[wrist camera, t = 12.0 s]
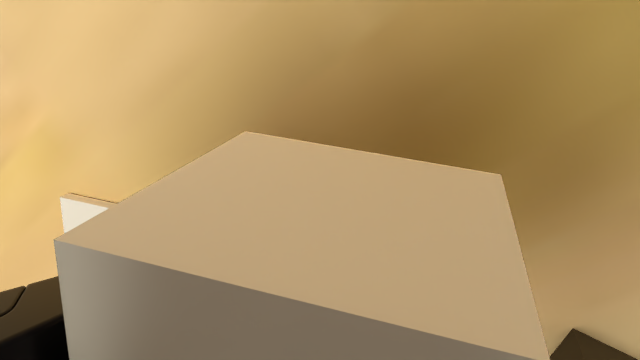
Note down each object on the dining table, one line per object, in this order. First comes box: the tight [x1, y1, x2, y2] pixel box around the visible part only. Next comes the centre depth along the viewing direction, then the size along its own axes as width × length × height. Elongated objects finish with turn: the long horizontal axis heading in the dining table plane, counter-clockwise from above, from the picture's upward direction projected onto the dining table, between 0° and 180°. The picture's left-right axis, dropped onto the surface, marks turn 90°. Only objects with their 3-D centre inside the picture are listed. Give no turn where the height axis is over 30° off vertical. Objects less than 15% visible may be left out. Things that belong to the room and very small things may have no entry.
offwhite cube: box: [54, 131, 550, 360], centre depth 8 cm, size 5×5×5 cm
